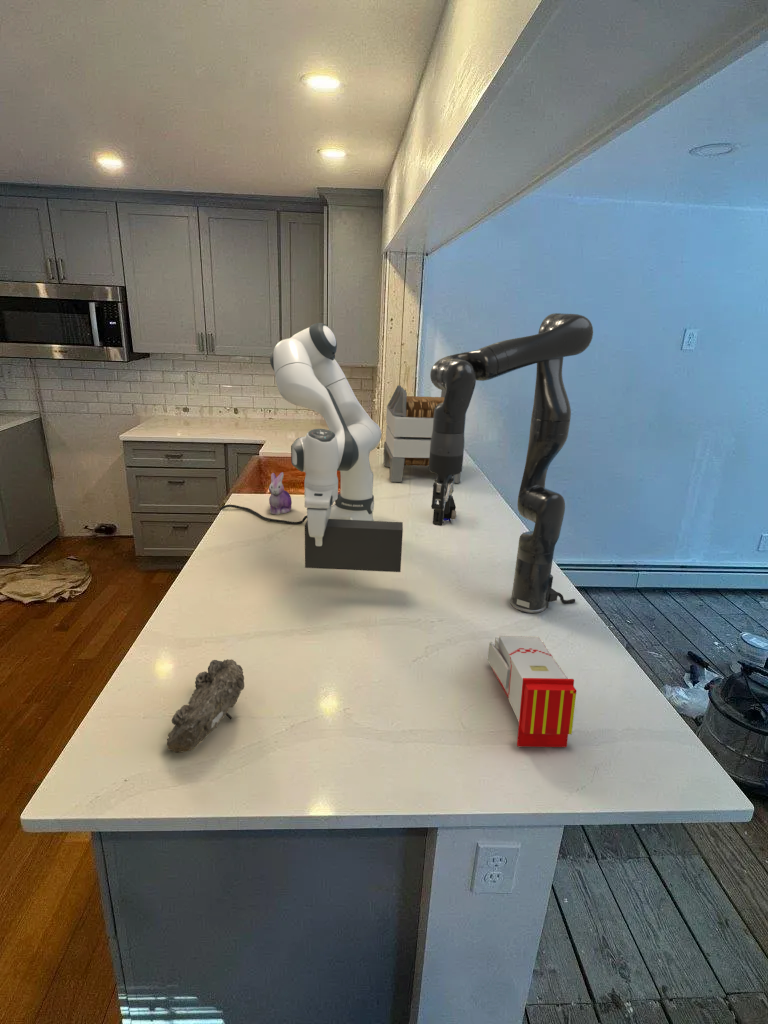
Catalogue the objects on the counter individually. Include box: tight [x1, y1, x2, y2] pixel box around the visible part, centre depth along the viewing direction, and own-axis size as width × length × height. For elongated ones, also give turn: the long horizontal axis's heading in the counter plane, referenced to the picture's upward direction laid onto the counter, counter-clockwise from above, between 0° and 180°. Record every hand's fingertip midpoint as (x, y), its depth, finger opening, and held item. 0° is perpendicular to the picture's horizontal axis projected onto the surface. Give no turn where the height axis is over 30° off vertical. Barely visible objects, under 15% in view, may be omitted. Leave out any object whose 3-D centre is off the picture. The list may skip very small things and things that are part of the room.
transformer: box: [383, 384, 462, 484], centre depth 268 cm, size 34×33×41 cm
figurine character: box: [437, 495, 457, 524], centre depth 215 cm, size 7×8×15 cm
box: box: [304, 519, 404, 573], centre depth 155 cm, size 26×6×12 cm, turn 89°
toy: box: [486, 635, 577, 748], centre depth 115 cm, size 12×13×30 cm
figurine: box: [268, 471, 293, 515], centre depth 214 cm, size 9×10×15 cm
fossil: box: [166, 658, 245, 754], centre depth 106 cm, size 22×10×15 cm
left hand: (320, 540), depth 154 cm, fingers closed on box, 6 cm apart
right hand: (441, 518), depth 132 cm, fingers open, 8 cm apart
